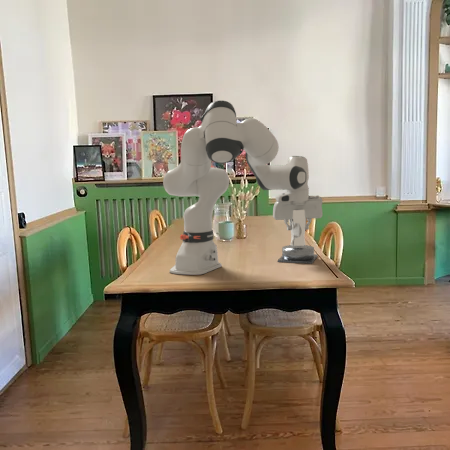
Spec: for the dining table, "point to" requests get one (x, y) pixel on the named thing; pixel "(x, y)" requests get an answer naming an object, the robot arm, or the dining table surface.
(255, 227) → the dining table surface
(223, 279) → the dining table surface
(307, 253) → the duct stub
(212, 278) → the dining table surface
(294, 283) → the dining table surface
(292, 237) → the pale grey rectangular box
